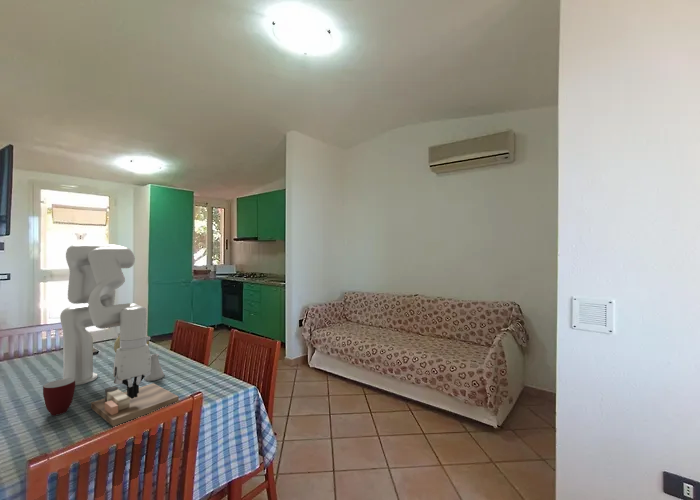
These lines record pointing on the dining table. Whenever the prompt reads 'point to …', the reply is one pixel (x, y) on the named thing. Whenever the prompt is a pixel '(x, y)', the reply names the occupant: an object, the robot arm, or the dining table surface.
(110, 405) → the leg stop
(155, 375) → the flask
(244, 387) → the dining table surface
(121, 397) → the folding leg
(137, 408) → the stool seat board
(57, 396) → the mug
